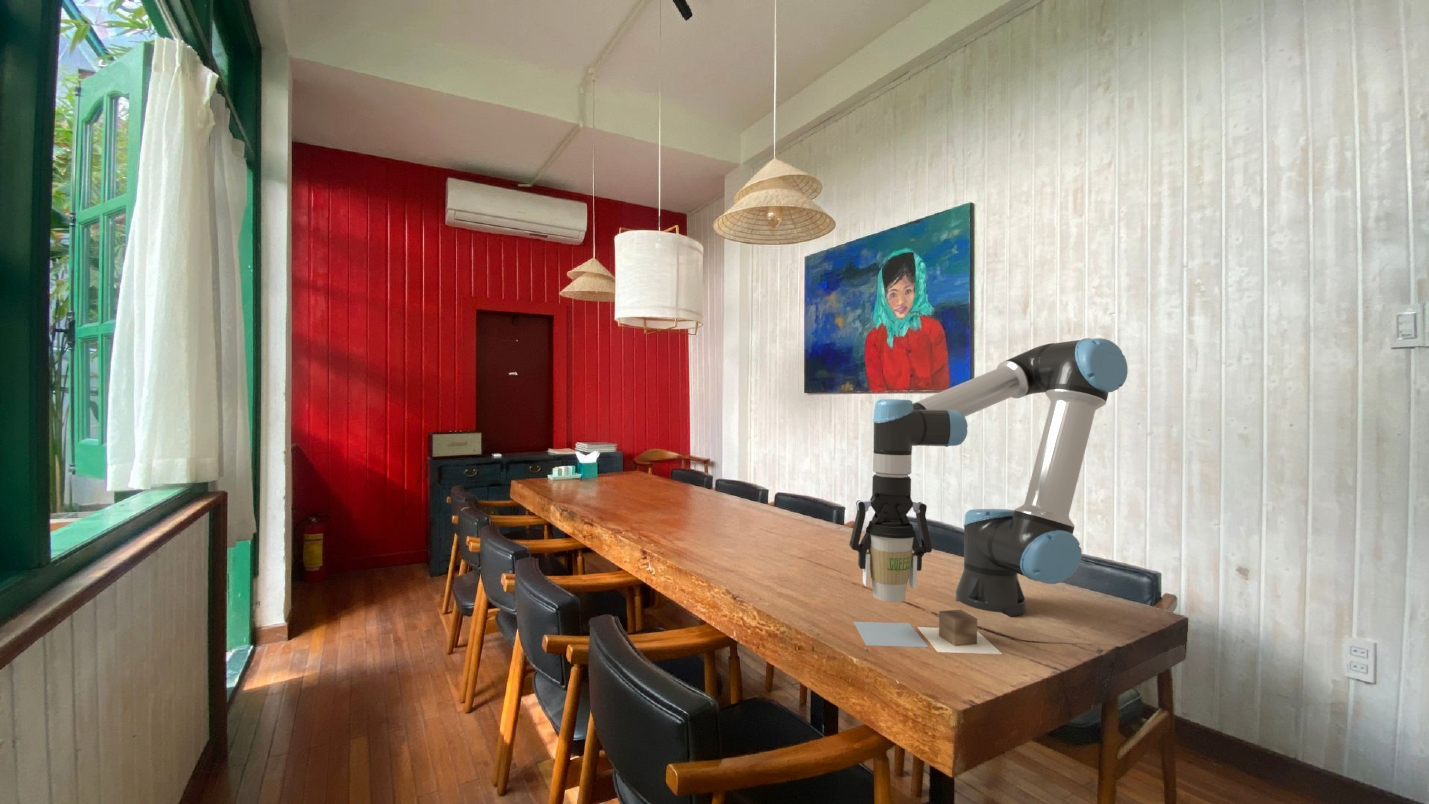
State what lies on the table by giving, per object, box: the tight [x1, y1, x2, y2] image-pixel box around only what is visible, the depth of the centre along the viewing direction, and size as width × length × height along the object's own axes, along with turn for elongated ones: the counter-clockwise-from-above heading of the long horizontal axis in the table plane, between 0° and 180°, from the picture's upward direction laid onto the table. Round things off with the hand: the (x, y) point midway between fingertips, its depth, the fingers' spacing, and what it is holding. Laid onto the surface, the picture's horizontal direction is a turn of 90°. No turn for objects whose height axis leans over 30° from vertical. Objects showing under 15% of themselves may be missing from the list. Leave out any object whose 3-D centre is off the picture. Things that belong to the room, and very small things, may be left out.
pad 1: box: [853, 621, 930, 651], centre depth 116 cm, size 12×12×1 cm
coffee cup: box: [865, 519, 917, 603], centre depth 116 cm, size 10×10×15 cm
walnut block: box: [938, 609, 978, 646], centre depth 113 cm, size 5×5×5 cm
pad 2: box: [917, 626, 1003, 655], centre depth 113 cm, size 12×12×1 cm
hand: (889, 585), depth 116 cm, fingers closed on coffee cup, 9 cm apart
